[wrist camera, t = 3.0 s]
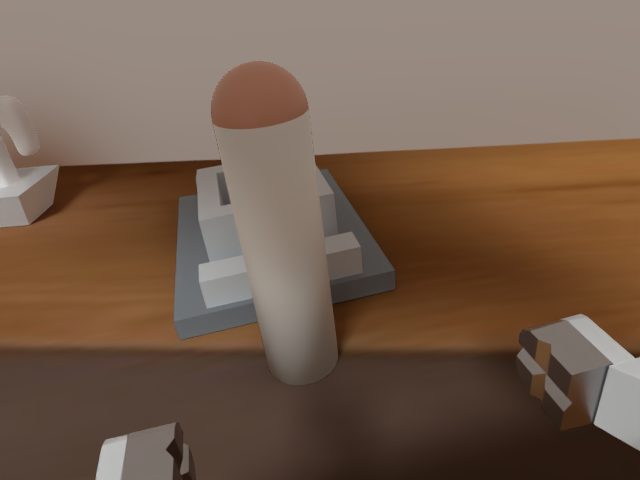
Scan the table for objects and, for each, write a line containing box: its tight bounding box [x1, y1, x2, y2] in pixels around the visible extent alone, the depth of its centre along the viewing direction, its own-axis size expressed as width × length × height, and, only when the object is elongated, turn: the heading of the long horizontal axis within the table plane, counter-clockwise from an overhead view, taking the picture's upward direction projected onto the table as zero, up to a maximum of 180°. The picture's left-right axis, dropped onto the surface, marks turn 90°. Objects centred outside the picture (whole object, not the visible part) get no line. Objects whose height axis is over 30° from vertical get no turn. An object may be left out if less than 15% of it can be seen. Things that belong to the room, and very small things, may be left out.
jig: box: [174, 164, 396, 340], centre depth 37 cm, size 18×14×6 cm
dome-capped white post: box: [211, 61, 338, 385], centre depth 23 cm, size 4×4×16 cm
